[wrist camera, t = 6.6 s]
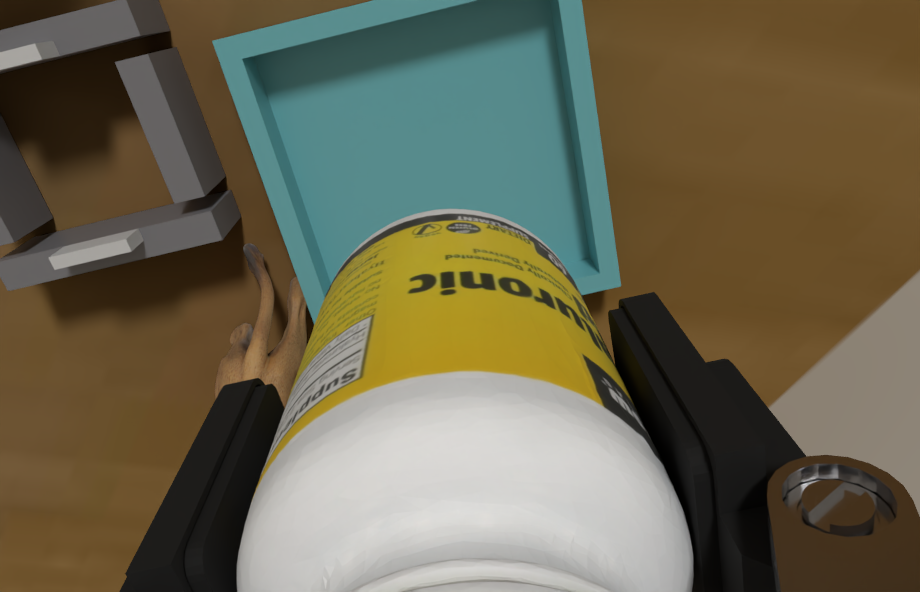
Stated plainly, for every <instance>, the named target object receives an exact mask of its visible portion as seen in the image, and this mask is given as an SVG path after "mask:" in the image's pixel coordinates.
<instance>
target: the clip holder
mask: <svg viewBox="0 0 920 592" xmlns="http://www.w3.org/2000/svg"><path fill="white" fill-rule="evenodd" d="M167 31H170V29H169V26H168V24H167V21H166V19H165V16H164V13H163V11H162V8H161V5H160V3H159V0H117V1H113V2H109V3H105V4H101V5H97V6H93V7H89V8H85V9H81V10H77V11H74V12H70V13H66V14H62V15H58V16H54V17H50V18H46V19H42V20H38V21H34V22H31V23H27V24H23V25H19V26H15V27H11V28H7V29H3V30H0V74H1V73H5V72H9V71H13V70H17V69H21V68H25V67H29V66H33V65H37V64H41V63H45V62H49V61H53V60H57V59H60V58H64V57H68V56H72V55H76V54H80V53H84V52H88V51H92V50H96V49H100V48H104V47H108V46H112V45H116V44H120V43H124V42H128V41H132V40H136V39H140V38H144V37H147V36H151V35H155V34H159V33H163V32H167ZM115 64H116V66H117V69H118V71H119V74H120V76H121V78H122V81H123V83H124V85H125V88H126V90H127V92H128V95H129V97H130V100H131V102H132V104H133V107H134V109H135V111H136V114H137V116H138V118H139V121H140V123H141V126H142V128H143V130H144V133H145V135H146V137H147V140H148V142H149V144H150V147H151V149H152V152H153V154H154V156H155V159H156V161H157V163H158V166H159V168H160V170H161V173H162V175H163V178H164V180H165V182H166V185H167V187H168V189H169V192H170V194H171V196H172V199H173V201H174V204H170V205H166V206H162V207H158V208H153V209H149V210H145V211H141V212H137V213H133V214H129V215H124V216H120V217H116V218H112V219H108V220H104V221H100V222H95V223H91V224H87V225H83V226H79V227H75V228H70V229H66V230H62V231H58V232H54V233H50V234H46V235H41V236H37V237H33V238H32V239H30V240H29V241H27V242H25V243H24V244H22V245H21V246H19V247H18V248H16V249H14V250H13V251H11V252H10V253H8V254H7V255H5V256H4V257H2V258H0V277H1V279H2V281H3V283H4V284H5V286H6V288H7V290H8V291H10V290H15V289H19V288H23V287H27V286H31V285H36V284H40V283H44V282H48V281H52V280H57V279H61V278H65V277H69V276H74V275H78V274H82V273H86V272H90V271H95V270H99V269H103V268H107V267H111V266H116V265H120V264H124V263H128V262H132V261H137V260H141V259H145V258H149V257H153V256H158V255H162V254H166V253H170V252H175V251H179V250H183V249H187V248H191V247H196V246H200V245H204V244H208V243H212V242H217V241H221V240H223V239H224V238H225V236H226V235H227V234H228V232H229V231H230V230H231V229H232V227H233V226H234V225H235V224H236V222H237V221H238V220H239V219H240V217H241V215H240V212H239V209H238V207H237V204H236V202H235V199H234V196H233V194H232V191H231V190H228V191H224V192H220V193H216V194H212V195H207V194H208V193H209V192H210V191H211V190H212V189H213V188H214V187H215V186H216V185H217V184H218V183H219V182H220V181H221V180H222V179H223V178H224V177H225V176H226V175H225V173H224V170H223V168H222V165H221V162H220V160H219V157H218V155H217V152H216V149H215V147H214V144H213V141H212V139H211V136H210V134H209V131H208V128H207V126H206V123H205V121H204V118H203V115H202V113H201V110H200V107H199V105H198V102H197V100H196V97H195V94H194V92H193V89H192V87H191V84H190V81H189V79H188V76H187V73H186V71H185V68H184V66H183V63H182V60H181V58H180V55H179V53H178V50H177V47H175V48H170V49H166V50H162V51H158V52H153V53H149V54H145V55H141V56H137V57H133V58H129V59H125V60H121V61H117V62H115ZM206 195H207V196H206ZM52 218H53V217H52V215H51V213H50V211H49V209H48V207H47V205H46V203H45V201H44V199H43V197H42V195H41V193H40V191H39V189H38V187H37V185H36V183H35V181H34V179H33V177H32V175H31V173H30V171H29V169H28V167H27V165H26V163H25V161H24V159H23V157H22V155H21V153H20V151H19V149H18V147H17V146H16V144H15V142H14V140H13V138H12V136H11V134H10V132H9V130H8V128H7V126H6V124H5V122H4V120H3V118H2V116H1V114H0V246H1V245H5V244H9V243H13V242H15V241H17V240H19V239H20V238H22V237H23V236H25V235H27V234H28V233H30V232H31V231H33V230H35V229H36V228H38V227H39V226H41V225H43V224H44V223H46V222H48V221H49V220H51V219H52Z"/></svg>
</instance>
